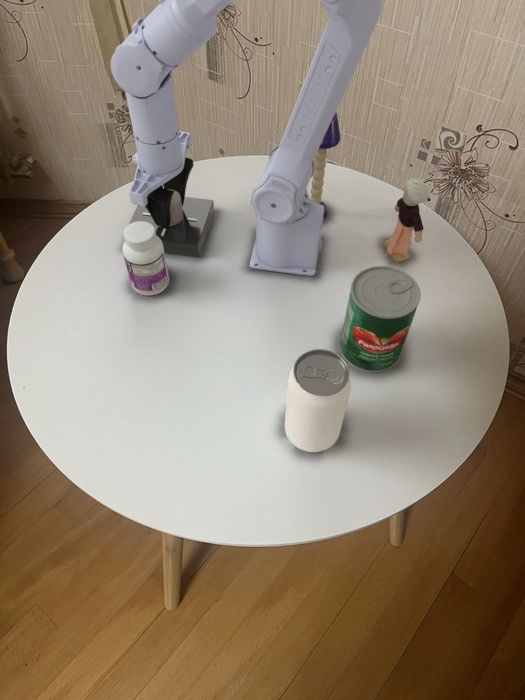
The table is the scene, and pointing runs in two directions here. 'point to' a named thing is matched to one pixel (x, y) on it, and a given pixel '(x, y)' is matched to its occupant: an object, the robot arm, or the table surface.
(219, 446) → the table surface
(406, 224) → the grandmother figurine
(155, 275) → the pill bottle
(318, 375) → the can
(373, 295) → the canned tomato
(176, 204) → the hob knob
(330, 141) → the toy lamp
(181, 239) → the knob base
